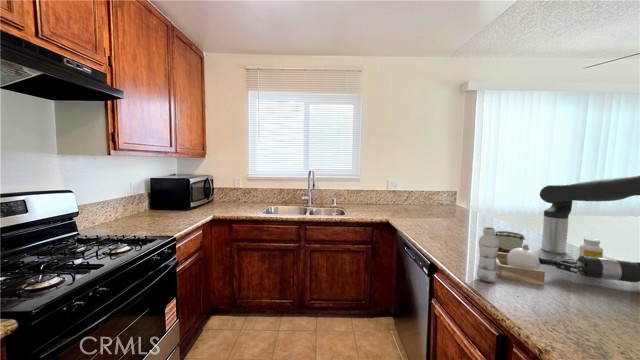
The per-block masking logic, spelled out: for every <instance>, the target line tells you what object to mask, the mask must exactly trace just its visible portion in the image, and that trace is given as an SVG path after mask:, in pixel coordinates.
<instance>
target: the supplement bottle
mask: <svg viewBox="0 0 640 360" xmlns="http://www.w3.org/2000/svg"><path fill="white" fill-rule="evenodd" d="M600 244H601V240H600V239H596V238H591V237H584V238H583V243H581V244H580V245H579V254H578V255H579V257H580V256H590V257H599V258H604V257H603V253H604V249H603V247H601V246H600ZM579 257H578V258H579Z"/></svg>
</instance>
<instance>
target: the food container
mask: <svg viewBox="0 0 640 360" xmlns="http://www.w3.org/2000/svg"><path fill="white" fill-rule="evenodd" d="M494 236H495V237H496V238H497V240H498V241H499V248H498V252H501V253H509V252H510V251H511V250H512V249H515V248H522V247H523V245H524V241H526V238H525V235H524V234H521V233H517V232H513V231H508V230H507V231H505V230H498V231H497V230H495V234H494Z"/></svg>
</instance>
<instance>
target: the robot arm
mask: <svg viewBox="0 0 640 360" xmlns="http://www.w3.org/2000/svg"><path fill="white" fill-rule="evenodd" d="M634 196H635V197H637V196H640V175H636V176H623V177H611V178H609V177H608V178H601V179H595V180H593V179H592V180H588V181H587V180H586V181H581V182H577V183H572V184H549V185H545V186H544V187H543V188H541V189H540V192H539V197H540V199H541V200H542V201H543V202H545V203H548V204H551V206H550V207H548V208H546V209H545V210H543V219H542V220H543V222H542V235H541V237H542V238H541V249H542V250H543V251H545V252H550V253H554V254H566V253H567V243H568V241H567V240H568V231H569V230H568V228H569V215H570V214H571V212H572V209H573V208H572V207H573V202H574V201H575V202H576V201H577V202H612V201H613V202H614V201H621V200H624V199H628V198H629V197H630V198H631V197H634ZM538 259H539V262H540V265H545V266H546V265H547V266H552V267H553V268H556V269H558V270H561V271H566V272H569V273H573V274H576V275H577V274H578V273H579V274H580V276H582V277H586V278H592V279H599V280H606V281H607V280H608V281H619V282H620V281H621V282H625V283H626V282H627V283H639V282H640V262H638V261H637V262H636V261H634V262H632V261H626V260H625V261H624V260H619V259H618V260H616V259H610V258H606V257H602V258H599V257H590V256H580V257H578V258H577V259H574V258H572V257H564V255H554V256H550V257H541V256H540V257H539V256H538Z"/></svg>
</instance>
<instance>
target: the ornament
mask: <svg viewBox="0 0 640 360" xmlns="http://www.w3.org/2000/svg"><path fill="white" fill-rule="evenodd" d="M538 258H539V256H538V255H537V254H536V252H534V251H532V250H530V247H529V245H528V244H527V243H523V244H522V248H515V249H512V250H511V251H510V252H509V253H508V256H507V263H508V265H509V266H515V267H522V268H529V269H537V270H540V269H539V268H540V265H541V264H540V262H539V259H538ZM508 265H507V266H508Z"/></svg>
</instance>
